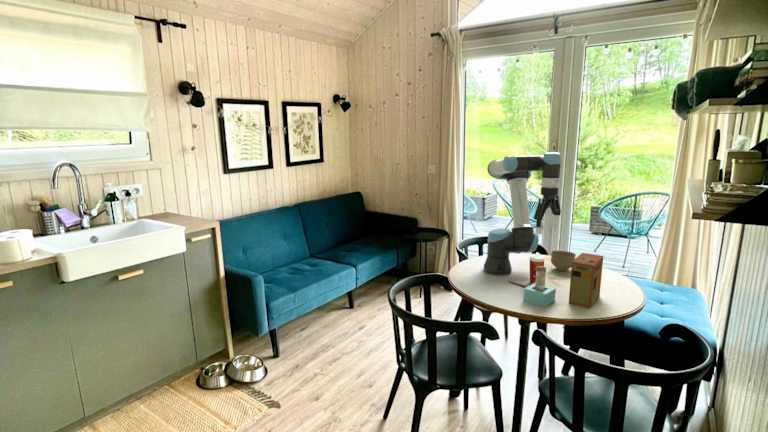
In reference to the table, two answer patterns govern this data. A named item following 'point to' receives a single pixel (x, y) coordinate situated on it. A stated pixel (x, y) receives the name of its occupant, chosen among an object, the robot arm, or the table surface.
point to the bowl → (562, 259)
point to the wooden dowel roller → (540, 278)
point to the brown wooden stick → (517, 284)
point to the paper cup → (534, 262)
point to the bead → (539, 295)
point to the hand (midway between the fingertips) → (546, 231)
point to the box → (585, 280)
